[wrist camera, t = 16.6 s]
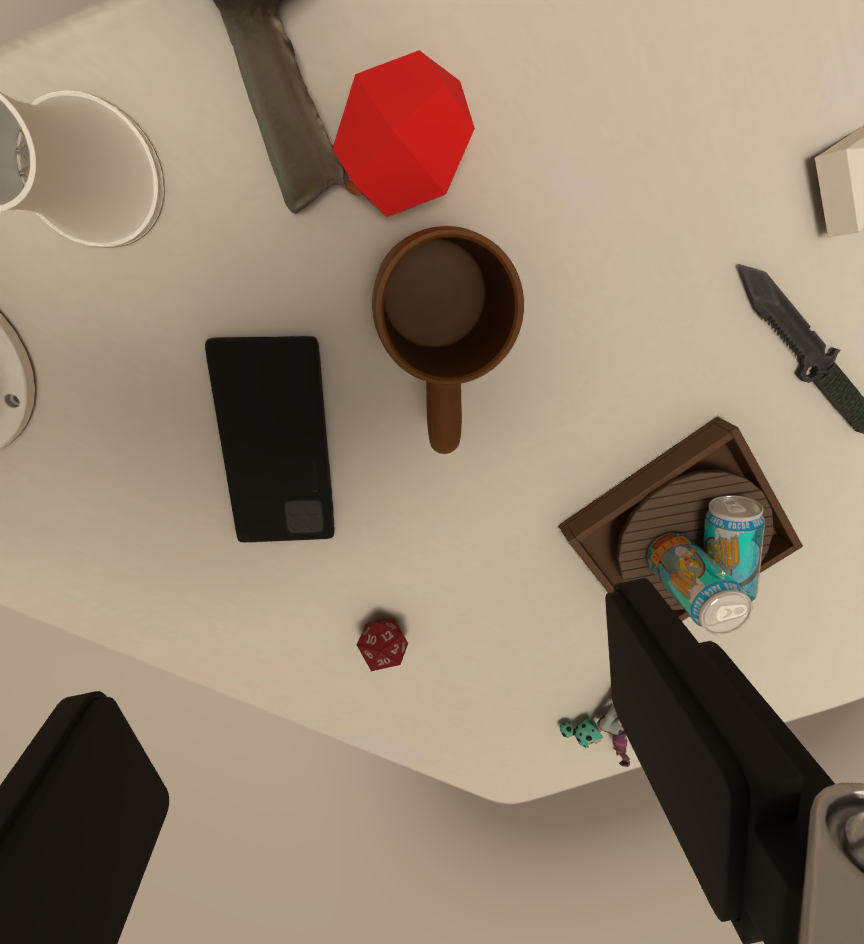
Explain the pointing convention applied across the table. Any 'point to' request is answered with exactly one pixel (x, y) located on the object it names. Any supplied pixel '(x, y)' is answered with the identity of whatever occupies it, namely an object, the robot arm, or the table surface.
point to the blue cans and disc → (700, 546)
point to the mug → (447, 316)
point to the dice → (382, 644)
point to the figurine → (591, 733)
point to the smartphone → (273, 436)
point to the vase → (79, 168)
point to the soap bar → (843, 184)
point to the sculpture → (281, 102)
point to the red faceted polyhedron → (403, 132)
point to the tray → (702, 450)
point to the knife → (805, 345)
